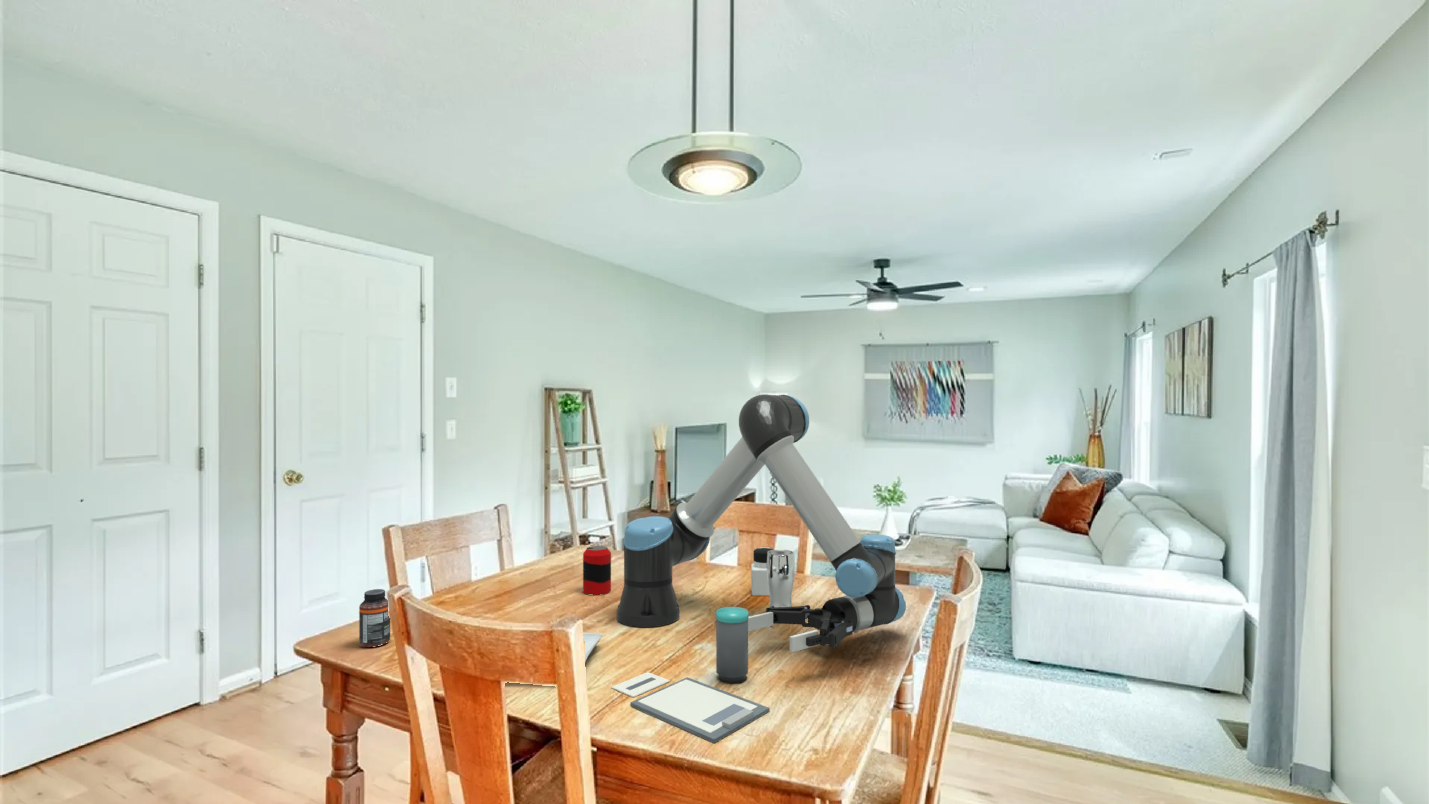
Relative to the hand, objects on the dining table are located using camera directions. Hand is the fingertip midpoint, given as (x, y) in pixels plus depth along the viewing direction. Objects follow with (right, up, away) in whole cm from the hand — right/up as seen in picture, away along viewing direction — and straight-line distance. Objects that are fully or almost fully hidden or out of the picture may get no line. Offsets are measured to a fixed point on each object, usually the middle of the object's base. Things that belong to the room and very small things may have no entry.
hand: (767, 633), depth 129 cm
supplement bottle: (-83, -7, +13) cm, 85 cm away
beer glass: (+6, -7, +35) cm, 36 cm away
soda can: (-43, -7, +54) cm, 69 cm away
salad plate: (-45, -7, +2) cm, 46 cm away
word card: (-24, -7, -8) cm, 26 cm away
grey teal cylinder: (-7, -7, -4) cm, 11 cm away
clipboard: (-13, -7, -17) cm, 22 cm away
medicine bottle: (+3, -7, +53) cm, 54 cm away
